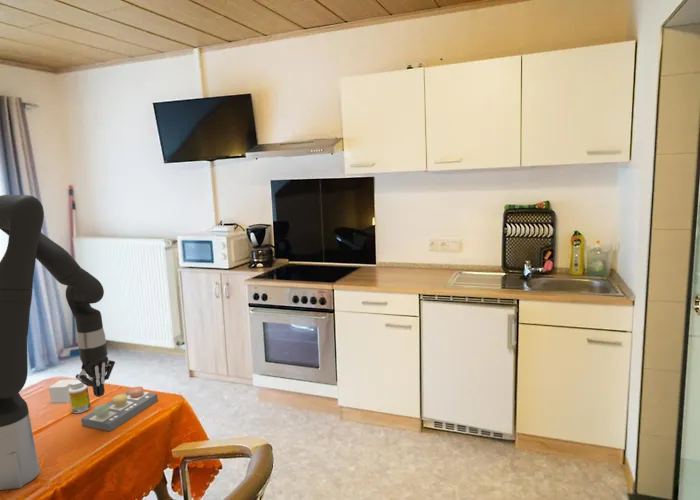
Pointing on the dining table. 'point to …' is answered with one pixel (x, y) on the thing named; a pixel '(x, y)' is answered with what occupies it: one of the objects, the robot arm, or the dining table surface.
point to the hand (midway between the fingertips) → (99, 395)
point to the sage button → (101, 409)
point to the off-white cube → (60, 391)
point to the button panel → (120, 412)
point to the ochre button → (119, 399)
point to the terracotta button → (136, 391)
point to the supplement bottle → (79, 397)
